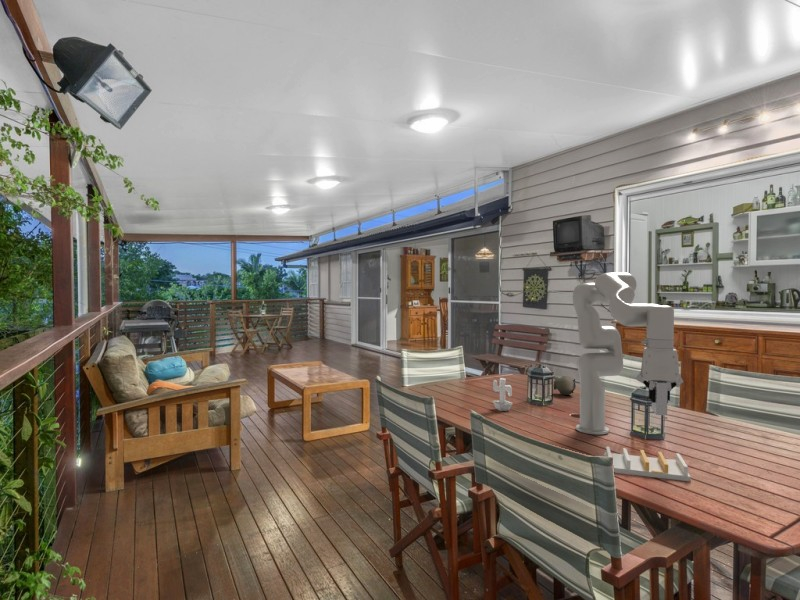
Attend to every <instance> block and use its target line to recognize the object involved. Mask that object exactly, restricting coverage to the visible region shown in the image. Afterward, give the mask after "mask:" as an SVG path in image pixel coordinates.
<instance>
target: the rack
mask: <svg viewBox="0 0 800 600" xmlns="http://www.w3.org/2000/svg"><path fill="white" fill-rule="evenodd" d="M663 454H664V453H662V451H657V457H651V456H650V457H649V456H647V455H646V453H645V450H644V449H639V455H632V454H629V453H628V449H627V447H626V448H625V447H623V448H622V454H621V453H614V452H613V453H612V451H611V447H610V446H605V452H604V454H603V455H604V456H608V457H613V465H614V472H615V473H614V474H621V475H622V474H624V475H630V476H639V477H647V478H656V479H657V478H659V479H664V480H666V479H667V480H676V481H684V482H691V478H692V477H691V475H690V473H689V466H688V464H687V463H686V462H685V460H684V458H683V457H682V455H681V453H677V452H676V453H675V459H672V458H671V459H670V458H665V456H664V455H663ZM604 456H603V457H604Z"/></svg>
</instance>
